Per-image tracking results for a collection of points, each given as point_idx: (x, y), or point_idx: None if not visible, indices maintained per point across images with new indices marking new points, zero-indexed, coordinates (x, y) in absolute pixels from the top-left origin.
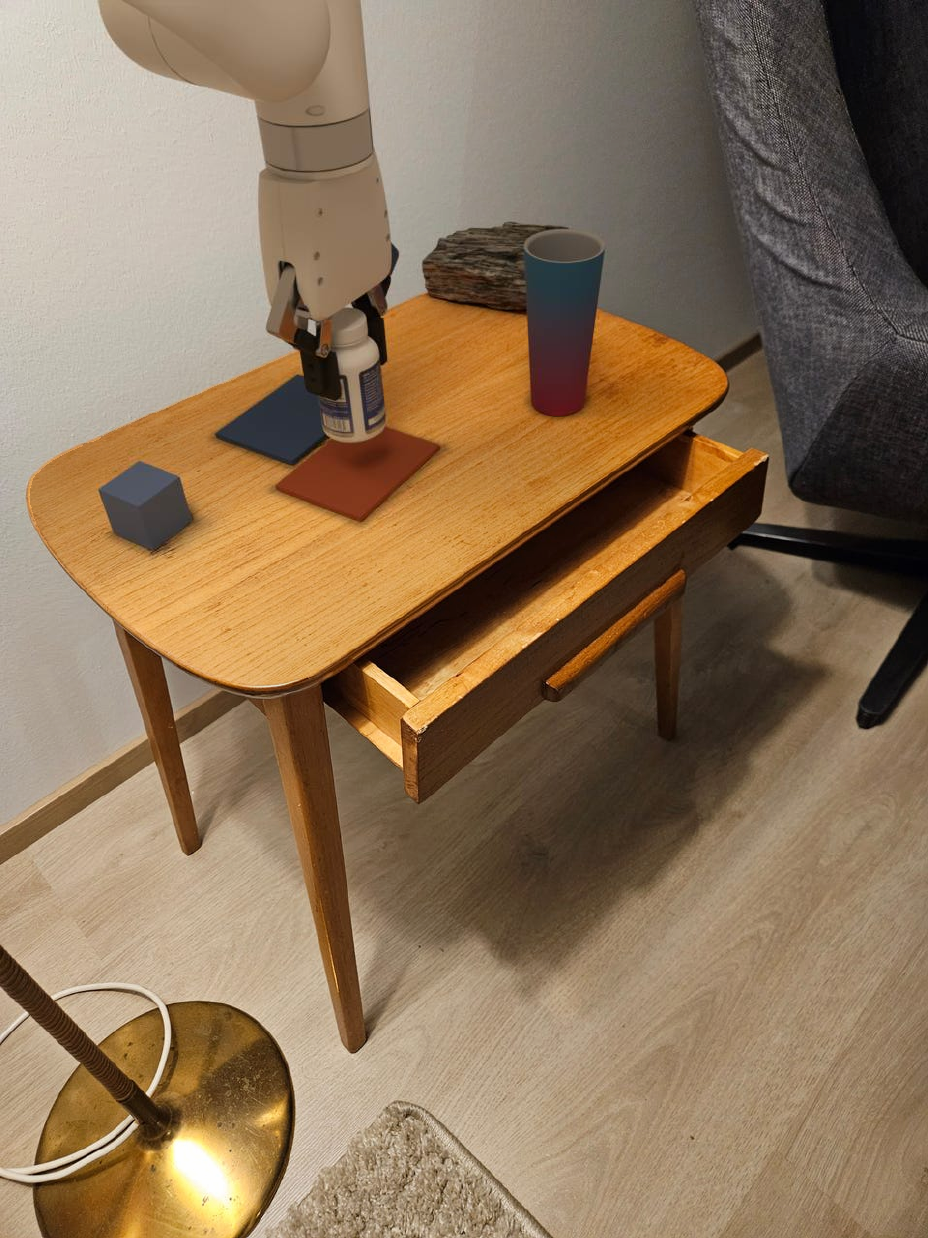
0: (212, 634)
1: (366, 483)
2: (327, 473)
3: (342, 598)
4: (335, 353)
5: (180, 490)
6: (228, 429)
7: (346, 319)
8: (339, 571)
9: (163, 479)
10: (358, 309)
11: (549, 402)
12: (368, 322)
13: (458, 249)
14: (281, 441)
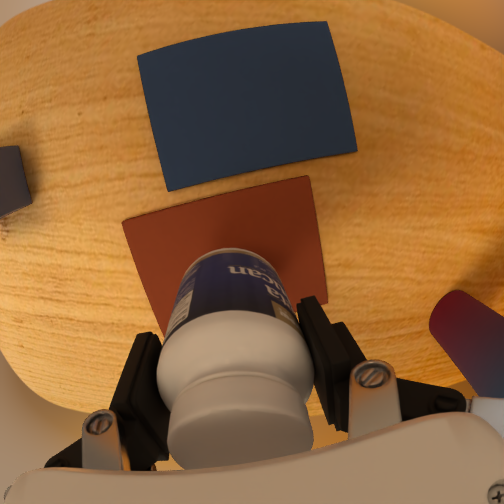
0: (13, 341)
1: None
2: (185, 252)
3: (101, 386)
4: (166, 459)
5: (3, 215)
6: (154, 60)
7: (249, 460)
8: (113, 366)
9: None
10: (338, 404)
11: (436, 334)
12: (326, 409)
13: None
14: (188, 139)
